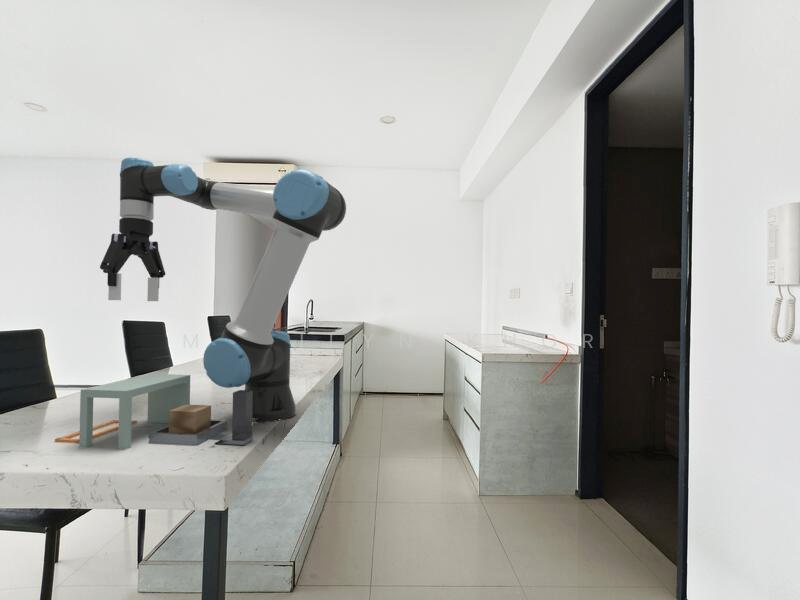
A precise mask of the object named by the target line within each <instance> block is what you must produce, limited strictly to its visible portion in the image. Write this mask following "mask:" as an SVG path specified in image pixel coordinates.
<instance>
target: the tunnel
mask: <svg viewBox="0 0 800 600" xmlns="http://www.w3.org/2000/svg"><path fill="white" fill-rule="evenodd" d="M145 394H147V423H156V424H157V423H158V424H159V423H160V424H169V411H170V410H173V409H176V408H178V407H181V406H184V405H191V374H171V373H170V374H168V373H165V374H164V373H152V374H151V373H150V374H145V375H142V376H141V375H140V376H136V377H133V378H127V379H122V380H119V381H113V382H108V383H103V384H100V385H96V386H90V387H86V388H82V389H80V397H79V402H80V403H79V404H80V405H79V431H80V435H79V438H78V439H79V443H78V447H79V449H80V448H84V449H87V448H89V447H90V448H91V447H92V446H93V439H92V435H93V432H94V430H93V427H94V398H99V399H102V398H103V399H118V402H119V403H118V420H119V423H118V426H119V430H118V435H117V436H118V439H117V441H118V443H117V449H118V451H120V450H121V451H122V450H123V451H126V450H128V449H130V448H131V447H132V425H131V420H132V414H133V413H132V410H133V409H132V406H133V405H132V404H133V398H134V397H137V396H141V395H145Z"/></svg>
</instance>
